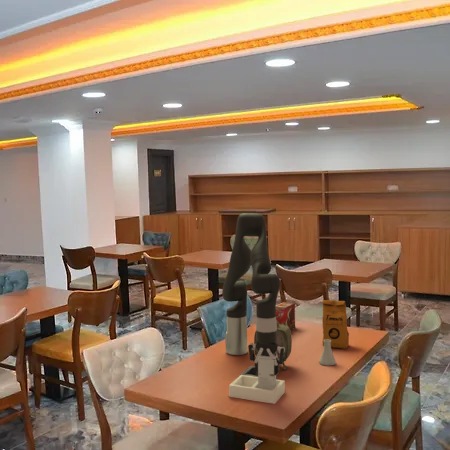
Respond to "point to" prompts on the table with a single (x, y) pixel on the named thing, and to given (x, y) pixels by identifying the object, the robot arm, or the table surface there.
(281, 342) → the tabletop clock
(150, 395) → the table surface
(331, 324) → the coffee package
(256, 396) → the cream divided tray
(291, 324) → the ice cream box
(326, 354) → the flask
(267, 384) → the skincare box
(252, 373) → the socket block
